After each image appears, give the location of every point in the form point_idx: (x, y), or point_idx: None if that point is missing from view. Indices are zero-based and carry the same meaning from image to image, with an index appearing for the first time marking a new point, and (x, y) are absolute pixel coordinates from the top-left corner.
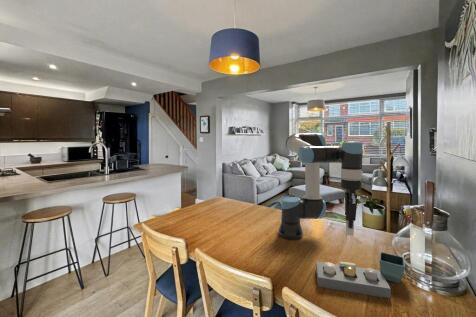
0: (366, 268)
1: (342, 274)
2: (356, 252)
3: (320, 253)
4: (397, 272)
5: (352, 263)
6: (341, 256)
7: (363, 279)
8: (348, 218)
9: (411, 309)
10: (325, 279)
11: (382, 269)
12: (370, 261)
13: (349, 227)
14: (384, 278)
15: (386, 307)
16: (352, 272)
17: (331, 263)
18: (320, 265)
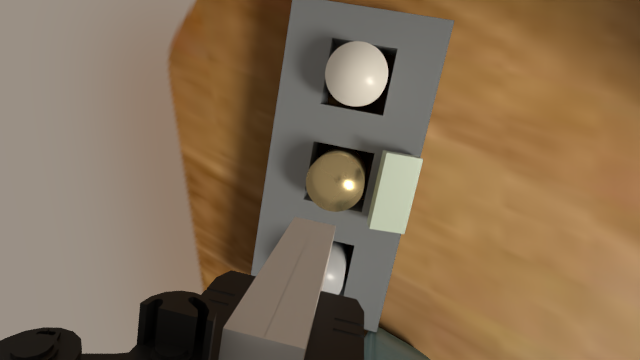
0: (337, 267)
1: (328, 136)
2: (624, 327)
3: (629, 107)
4: None
5: (399, 222)
6: (582, 225)
7: None
8: (9, 353)
9: None
10: (288, 35)
11: (364, 344)
12: (521, 349)
13: (216, 282)
14: None
15: (215, 239)
16: (307, 183)
17: (375, 92)
18: (407, 37)
